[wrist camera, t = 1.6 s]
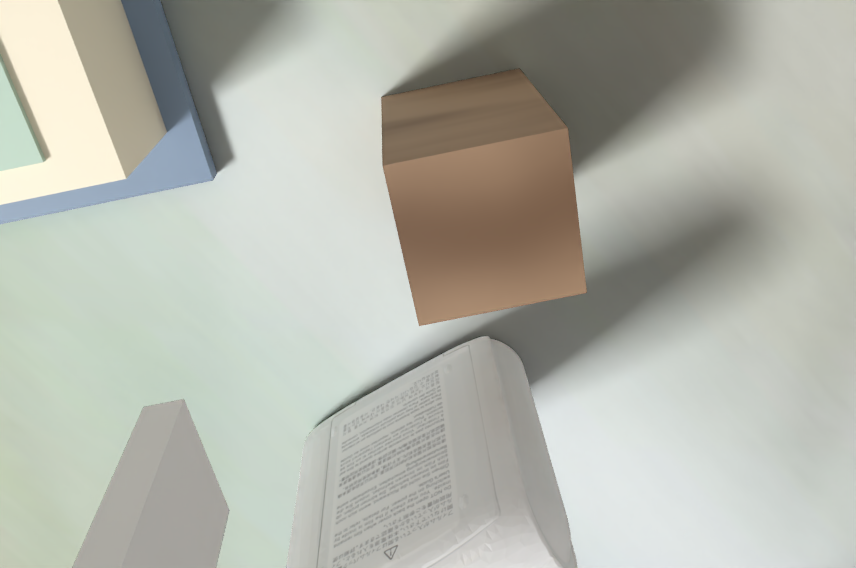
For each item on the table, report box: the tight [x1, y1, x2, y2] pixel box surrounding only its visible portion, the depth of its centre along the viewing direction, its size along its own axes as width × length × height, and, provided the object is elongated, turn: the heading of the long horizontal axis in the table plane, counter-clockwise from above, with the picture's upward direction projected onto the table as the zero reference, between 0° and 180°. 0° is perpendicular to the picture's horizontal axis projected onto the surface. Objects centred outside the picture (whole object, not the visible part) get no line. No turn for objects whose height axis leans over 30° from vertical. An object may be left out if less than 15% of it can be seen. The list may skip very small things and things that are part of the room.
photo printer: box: [286, 336, 578, 568], centre depth 29 cm, size 10×4×12 cm, turn 122°
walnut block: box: [381, 68, 587, 326], centre depth 26 cm, size 5×5×8 cm
